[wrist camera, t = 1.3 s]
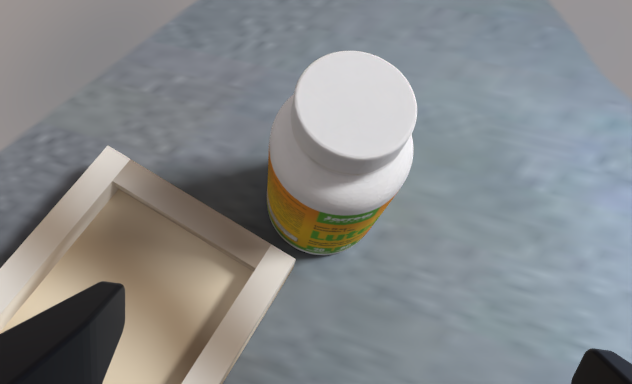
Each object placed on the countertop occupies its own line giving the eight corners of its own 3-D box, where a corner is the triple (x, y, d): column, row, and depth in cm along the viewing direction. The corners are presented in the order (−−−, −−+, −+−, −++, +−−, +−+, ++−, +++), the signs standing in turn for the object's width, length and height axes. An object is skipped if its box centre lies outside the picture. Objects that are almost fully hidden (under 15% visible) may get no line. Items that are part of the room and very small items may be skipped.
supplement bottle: (300, 277, 23) (326, 212, 14) (247, 183, 24) (239, 68, 15) (393, 225, 24) (473, 135, 15) (338, 140, 25) (381, 10, 16)
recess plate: (162, 480, 19) (152, 491, 17) (-36, 346, 20) (-66, 343, 18) (292, 268, 23) (295, 259, 21) (119, 163, 24) (107, 145, 22)
